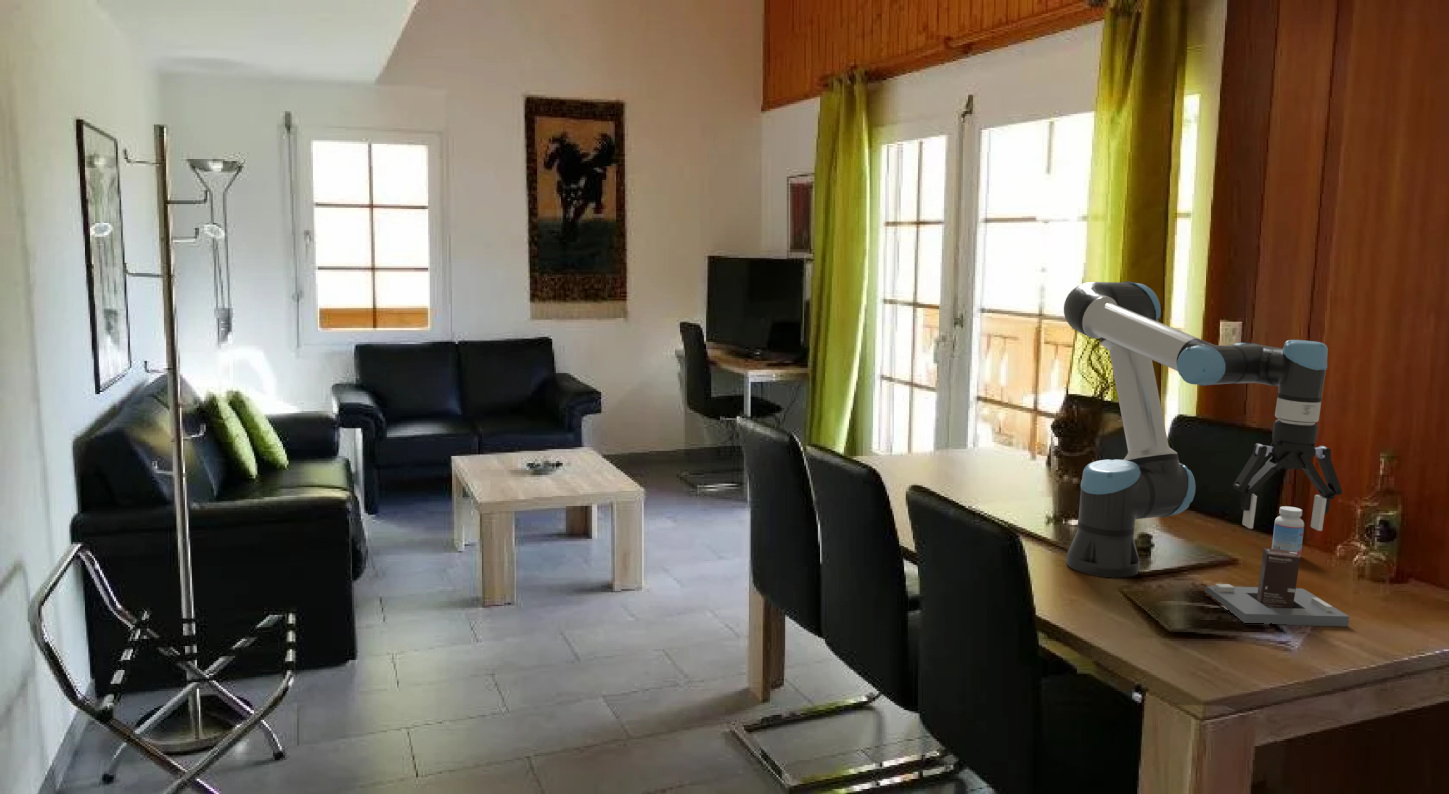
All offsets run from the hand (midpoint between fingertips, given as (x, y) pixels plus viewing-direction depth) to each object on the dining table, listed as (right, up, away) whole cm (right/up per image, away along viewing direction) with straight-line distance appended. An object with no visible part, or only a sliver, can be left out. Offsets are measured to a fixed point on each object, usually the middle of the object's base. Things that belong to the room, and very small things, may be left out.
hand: (1281, 527), depth 208 cm
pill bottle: (+22, -12, +40) cm, 47 cm away
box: (0, -17, +2) cm, 17 cm away
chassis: (0, -17, +2) cm, 17 cm away
